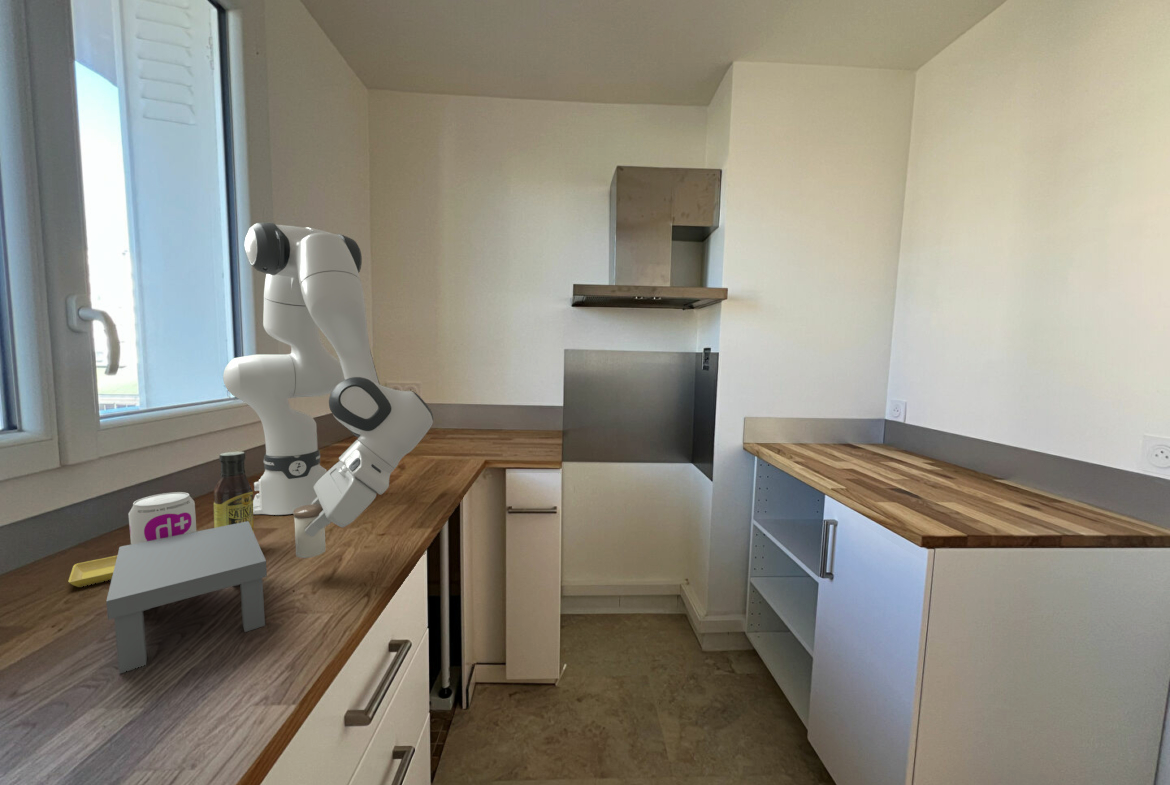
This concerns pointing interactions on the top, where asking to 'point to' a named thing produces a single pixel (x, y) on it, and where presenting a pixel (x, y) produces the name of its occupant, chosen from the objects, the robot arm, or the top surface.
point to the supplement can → (161, 517)
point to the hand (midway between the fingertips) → (305, 528)
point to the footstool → (182, 580)
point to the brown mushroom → (304, 542)
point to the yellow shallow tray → (92, 571)
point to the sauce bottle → (233, 492)
